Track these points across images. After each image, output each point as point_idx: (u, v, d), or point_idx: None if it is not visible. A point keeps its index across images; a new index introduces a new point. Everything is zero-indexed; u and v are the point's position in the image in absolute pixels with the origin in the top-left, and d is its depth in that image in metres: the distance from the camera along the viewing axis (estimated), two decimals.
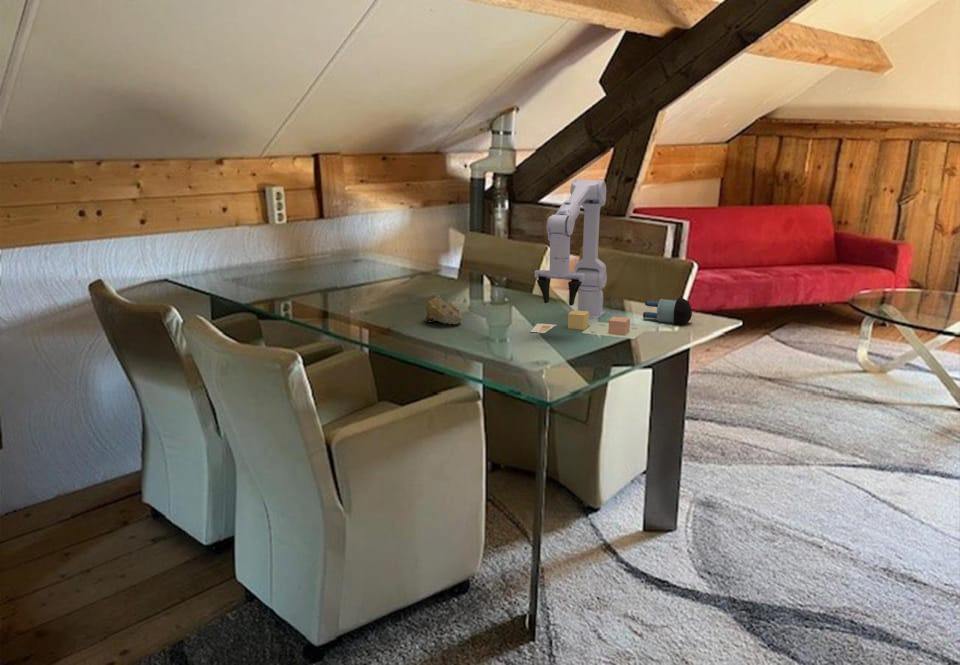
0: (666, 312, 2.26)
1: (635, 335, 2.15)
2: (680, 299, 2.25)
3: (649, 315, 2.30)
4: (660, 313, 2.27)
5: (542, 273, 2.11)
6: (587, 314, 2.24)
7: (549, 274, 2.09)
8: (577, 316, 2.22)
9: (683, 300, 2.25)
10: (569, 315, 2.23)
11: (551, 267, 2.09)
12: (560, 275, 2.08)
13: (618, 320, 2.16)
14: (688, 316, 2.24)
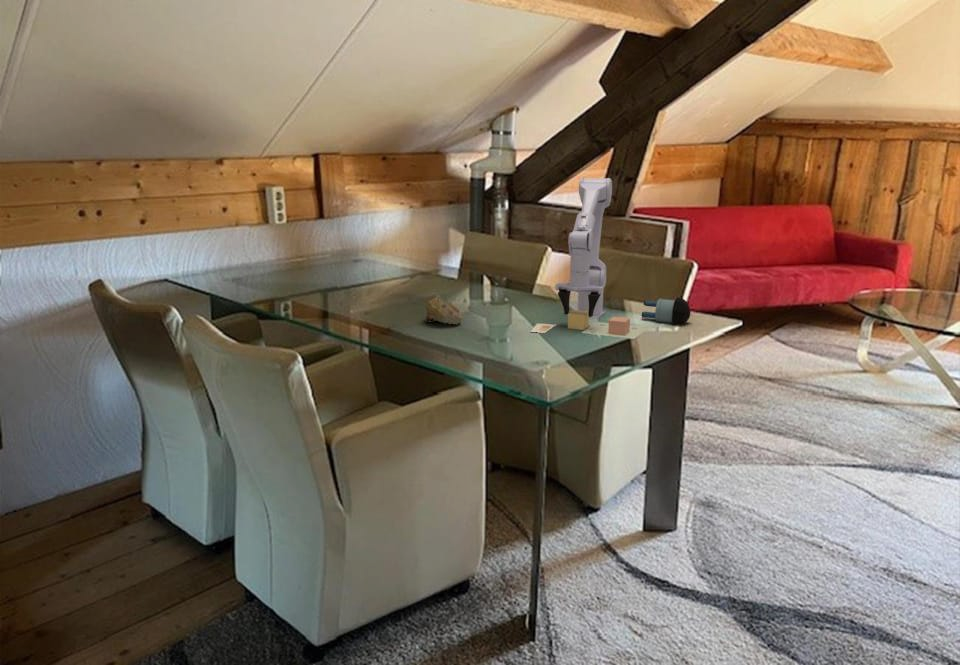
0: (664, 312, 2.26)
1: (635, 335, 2.15)
2: (678, 299, 2.25)
3: (648, 315, 2.30)
4: (658, 313, 2.27)
5: (563, 286, 2.22)
6: (587, 314, 2.24)
7: (570, 287, 2.20)
8: (577, 316, 2.22)
9: (681, 300, 2.25)
10: (569, 315, 2.23)
11: (572, 280, 2.20)
12: (580, 288, 2.19)
13: (618, 320, 2.16)
14: (686, 316, 2.25)
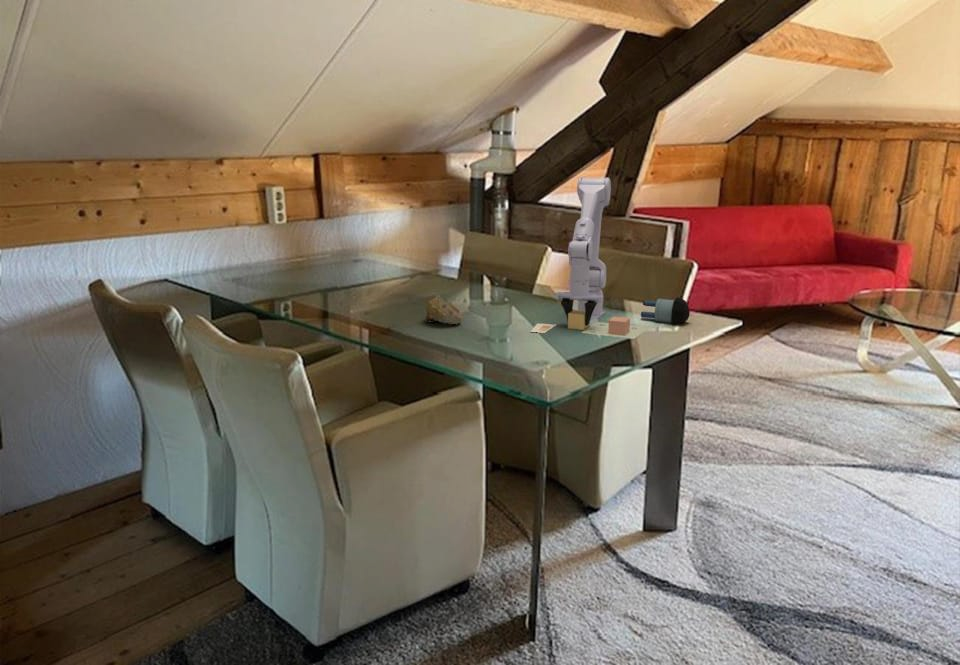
0: (664, 312, 2.26)
1: (635, 335, 2.15)
2: (678, 299, 2.25)
3: (647, 315, 2.30)
4: (658, 313, 2.27)
5: (563, 295, 2.23)
6: None
7: (569, 296, 2.21)
8: (577, 315, 2.22)
9: (681, 300, 2.25)
10: (569, 315, 2.23)
11: (571, 289, 2.20)
12: (580, 297, 2.19)
13: (618, 320, 2.16)
14: (686, 316, 2.25)
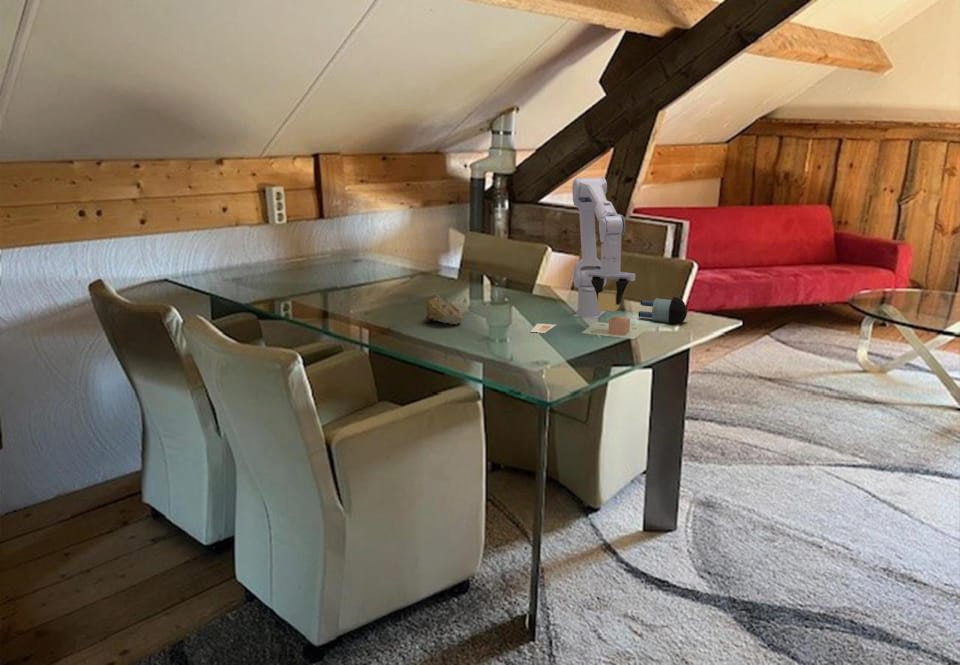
0: (661, 312, 2.27)
1: (635, 335, 2.15)
2: (675, 298, 2.26)
3: (644, 314, 2.31)
4: (655, 312, 2.28)
5: (593, 273, 2.16)
6: None
7: (600, 274, 2.14)
8: (607, 295, 2.14)
9: (678, 299, 2.26)
10: (599, 295, 2.16)
11: (602, 267, 2.13)
12: (611, 275, 2.12)
13: (618, 320, 2.16)
14: (683, 315, 2.25)
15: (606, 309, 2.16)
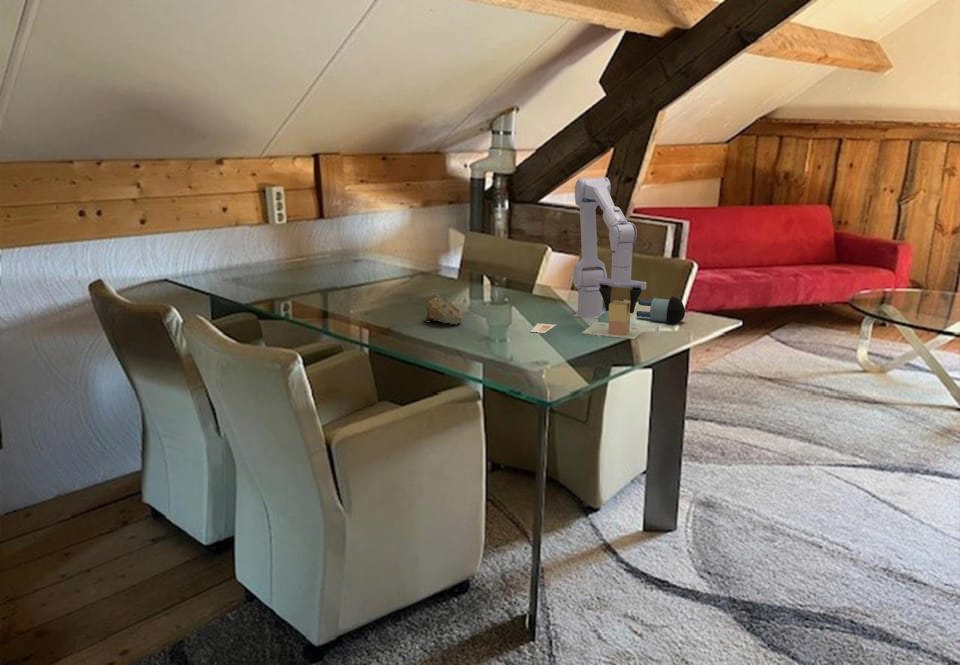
0: (659, 311, 2.27)
1: (635, 335, 2.15)
2: (673, 298, 2.26)
3: (642, 314, 2.31)
4: (653, 312, 2.28)
5: (604, 281, 2.15)
6: (628, 304, 2.16)
7: (611, 282, 2.13)
8: (618, 306, 2.14)
9: (676, 299, 2.26)
10: (610, 305, 2.15)
11: (613, 275, 2.12)
12: (622, 283, 2.11)
13: None
14: (681, 315, 2.26)
15: (617, 320, 2.15)
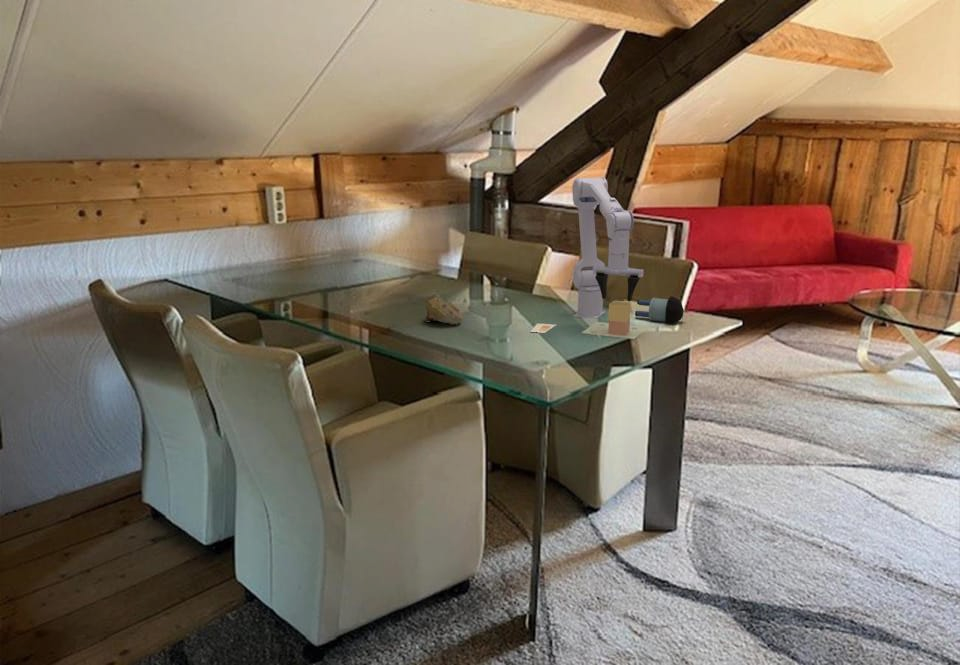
0: (658, 311, 2.27)
1: (635, 335, 2.15)
2: (672, 298, 2.27)
3: (641, 314, 2.31)
4: (652, 312, 2.28)
5: (601, 269, 2.15)
6: (628, 304, 2.16)
7: (608, 270, 2.13)
8: (618, 306, 2.14)
9: (675, 299, 2.26)
10: (610, 305, 2.15)
11: (610, 263, 2.12)
12: (619, 271, 2.11)
13: None
14: (680, 315, 2.26)
15: (617, 320, 2.15)
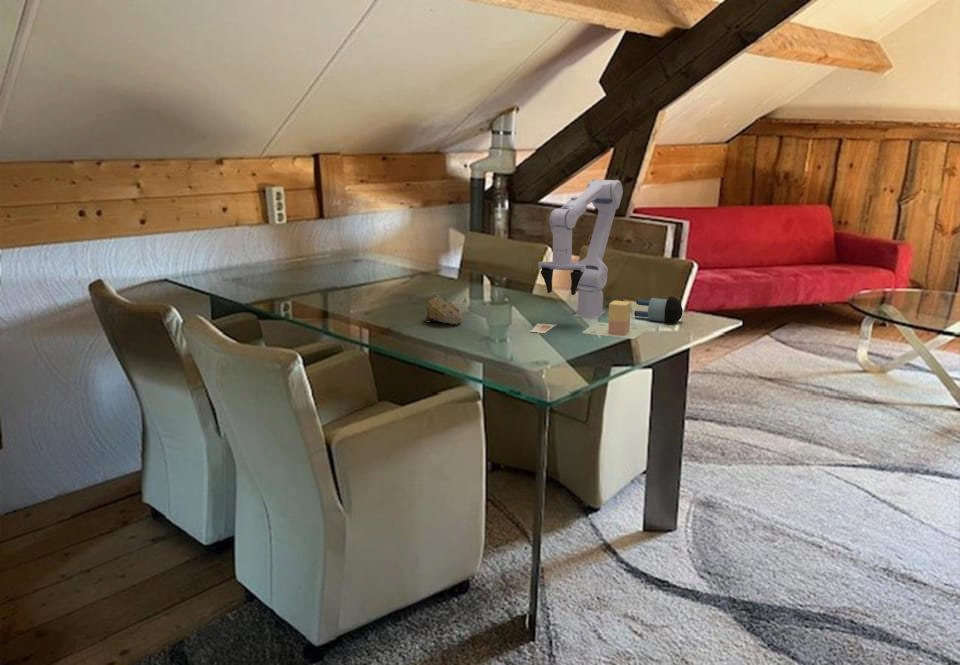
0: (657, 311, 2.27)
1: (635, 335, 2.15)
2: (671, 298, 2.27)
3: (640, 314, 2.32)
4: (651, 312, 2.28)
5: (545, 264, 2.23)
6: (628, 304, 2.16)
7: (552, 265, 2.21)
8: (618, 306, 2.14)
9: (674, 299, 2.26)
10: (610, 305, 2.15)
11: (554, 258, 2.20)
12: (563, 266, 2.19)
13: None
14: (679, 315, 2.26)
15: (617, 320, 2.15)
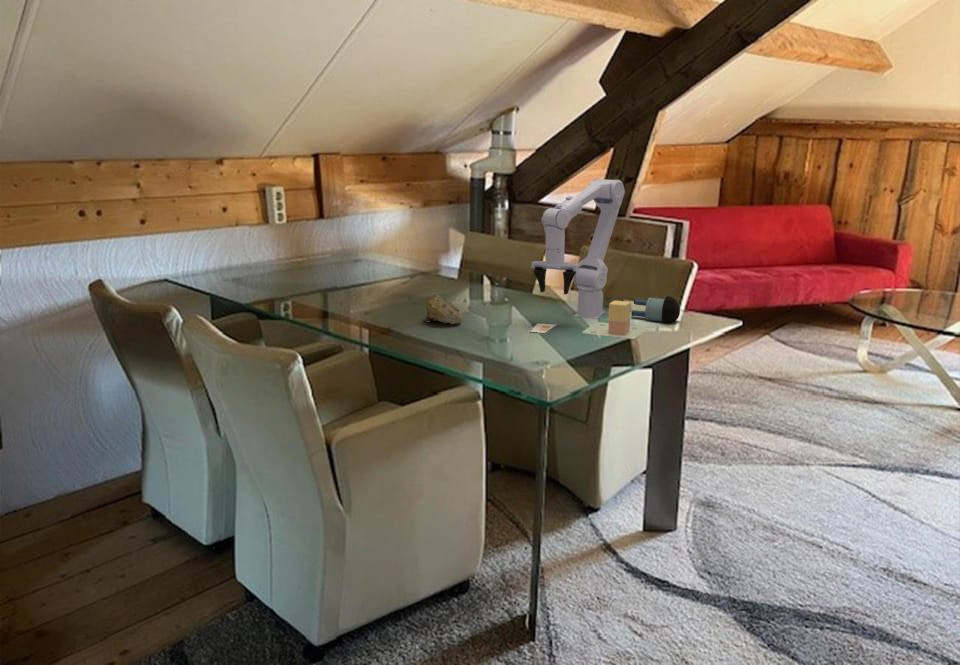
0: (654, 311, 2.28)
1: (635, 335, 2.15)
2: (668, 298, 2.27)
3: (638, 313, 2.32)
4: (648, 311, 2.29)
5: (538, 264, 2.24)
6: (628, 304, 2.16)
7: (545, 264, 2.22)
8: (618, 306, 2.14)
9: (671, 298, 2.27)
10: (610, 305, 2.15)
11: (547, 258, 2.21)
12: (555, 265, 2.20)
13: None
14: (676, 314, 2.27)
15: (617, 320, 2.15)
